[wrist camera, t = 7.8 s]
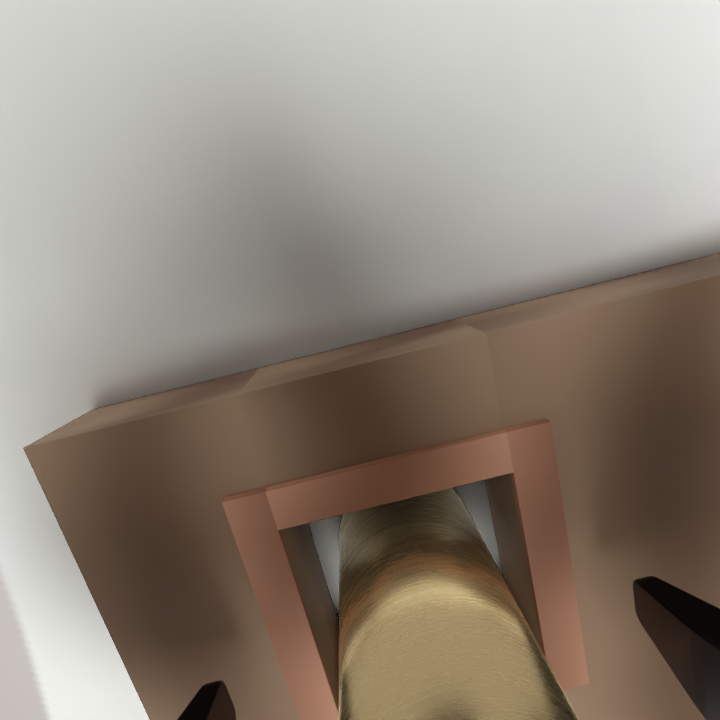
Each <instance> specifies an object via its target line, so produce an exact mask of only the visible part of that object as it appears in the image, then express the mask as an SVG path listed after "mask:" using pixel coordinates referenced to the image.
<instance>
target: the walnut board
mask: <svg viewBox="0 0 720 720" xmlns="http://www.w3.org/2000/svg"><path fill="white" fill-rule="evenodd" d="M23 449H24V451H25V453H26V455H27V457H28V459H29V461H30V464H31V466H32V468H33V470H34V472H35V474H36V476H37V479H38V481H39V483H40V485H41V487H42V489H43V491H44V494H45V496H46V498H47V500H48V502H49V504H50V507H51V509H52V511H53V513H54V515H55V517H56V519H57V522H58V524H59V526H60V528H61V530H62V532H63V534H64V537H65V539H66V541H67V543H68V545H69V547H70V549H71V552H72V554H73V556H74V558H75V560H76V562H77V564H78V567H79V569H80V571H81V573H82V575H83V577H84V579H85V582H86V584H87V586H88V588H89V590H90V592H91V595H92V597H93V599H94V601H95V603H96V605H97V607H98V610H99V612H100V614H101V616H102V618H103V620H104V622H105V625H106V627H107V629H108V631H109V633H110V635H111V637H112V640H113V642H114V644H115V646H116V648H117V650H118V652H119V655H120V657H121V659H122V661H123V663H124V665H125V667H126V670H127V672H128V674H129V676H130V678H131V680H132V683H133V685H134V687H135V689H136V691H137V693H138V695H139V698H140V700H141V702H142V704H143V706H144V708H145V710H146V713H147V715H148V717H149V719H150V720H177V719H178V718H179V716H180V715H181V714H182V712H183V711H184V710H185V708H186V707H187V706H188V704H189V703H190V702H191V700H192V699H193V697H194V696H195V695H196V693H197V692H198V691H199V689H200V688H201V687H202V686H203V685H205V684H207V683H211V682H215V681H219V680H222V681H223V682H224V683H225V685H226V687H227V689H228V692H229V694H230V697H231V699H232V702H233V704H234V707H235V711H236V720H339V623H338V619H337V616H336V613H335V610H334V607H333V603H332V600H331V597H330V594H329V590H328V587H327V584H326V581H325V577H324V574H323V571H322V568H321V564H320V561H319V558H318V555H317V552H316V548H315V545H314V542H313V539H312V535H311V532H310V529H309V526H308V523H310V522H314V521H318V520H322V519H326V518H331V517H335V516H339V515H343V514H347V513H351V512H355V511H359V510H363V509H367V508H371V507H375V506H379V505H383V504H387V503H391V502H396V501H400V500H404V499H408V498H412V497H416V496H420V495H424V494H428V493H432V492H436V491H440V490H444V489H448V488H452V487H457V486H461V485H465V484H469V483H473V482H477V481H481V480H485V482H486V487H487V492H488V498H489V503H490V508H491V513H492V518H493V524H494V529H495V534H496V539H497V544H498V550H499V555H500V560H501V565H502V570H503V576H504V580H505V582H506V584H507V586H508V588H509V590H510V591H511V593H512V595H513V597H514V599H515V601H516V603H517V605H518V606H519V608H520V610H521V612H522V614H523V616H524V618H525V620H526V621H527V623H528V625H529V627H530V629H531V631H532V633H533V635H534V636H535V638H536V640H537V642H538V644H539V646H540V648H541V650H542V652H543V653H544V655H545V657H546V659H547V661H548V663H549V665H550V667H551V668H552V670H553V672H554V674H555V676H556V678H557V680H558V682H559V683H560V685H561V687H562V689H563V691H564V693H565V695H566V697H567V698H568V700H569V702H570V704H571V706H572V708H573V710H574V712H575V714H576V715H577V717H578V719H579V720H706V719H705V718H704V716H703V715H702V714H701V712H700V711H699V710H698V708H697V707H696V706H695V704H694V703H693V701H692V700H691V699H690V697H689V696H688V694H687V693H686V691H685V690H684V688H683V687H682V685H681V684H680V682H679V681H678V679H677V678H676V676H675V675H674V673H673V672H672V670H671V669H670V667H669V666H668V664H667V663H666V661H665V660H664V658H663V656H662V655H661V653H660V652H659V650H658V649H657V647H656V646H655V644H654V643H653V641H652V640H651V638H650V637H649V635H648V634H647V632H646V631H645V629H644V628H643V626H642V625H641V623H640V621H639V619H638V617H637V615H636V611H635V603H634V594H633V581H634V580H635V579H639V578H643V577H647V576H654V577H657V578H659V579H661V580H663V581H665V582H667V583H669V584H671V585H673V586H675V587H677V588H679V589H681V590H683V591H685V592H687V593H689V594H691V595H694V596H696V597H698V598H700V599H702V600H704V601H706V602H708V603H710V604H712V605H714V606H716V607H718V608H720V253H719V254H715V255H711V256H707V257H703V258H699V259H695V260H691V261H687V262H683V263H679V264H675V265H671V266H667V267H663V268H659V269H655V270H651V271H647V272H643V273H639V274H635V275H631V276H627V277H623V278H619V279H615V280H611V281H607V282H603V283H599V284H595V285H591V286H587V287H583V288H579V289H575V290H571V291H567V292H563V293H559V294H555V295H551V296H547V297H543V298H539V299H535V300H531V301H527V302H523V303H519V304H515V305H511V306H507V307H503V308H499V309H494V310H490V311H486V312H482V313H478V314H474V315H470V316H466V317H462V318H458V319H454V320H450V321H446V322H442V323H438V324H434V325H430V326H426V327H422V328H418V329H414V330H410V331H406V332H402V333H398V334H394V335H390V336H386V337H382V338H378V339H374V340H370V341H366V342H362V343H358V344H354V345H350V346H346V347H342V348H338V349H334V350H330V351H326V352H322V353H318V354H314V355H310V356H306V357H302V358H298V359H294V360H290V361H286V362H282V363H278V364H274V365H270V366H266V367H262V368H258V369H254V370H250V371H246V372H242V373H238V374H234V375H230V376H226V377H222V378H218V379H214V380H209V381H205V382H201V383H197V384H193V385H189V386H185V387H181V388H177V389H173V390H169V391H165V392H161V393H157V394H153V395H149V396H145V397H141V398H137V399H133V400H129V401H125V402H121V403H117V404H113V405H109V406H105V407H101V408H97V409H93V410H91V411H89V412H88V413H86V414H84V415H82V416H80V417H79V418H77V419H75V420H73V421H71V422H70V423H68V424H66V425H64V426H62V427H61V428H59V429H57V430H55V431H53V432H52V433H50V434H48V435H46V436H44V437H43V438H41V439H39V440H37V441H35V442H34V443H32V444H30V445H28V446H26V447H25V448H23Z"/></svg>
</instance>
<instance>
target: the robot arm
mask: <svg viewBox="0 0 720 720" xmlns="http://www.w3.org/2000/svg"><path fill="white" fill-rule="evenodd" d="M633 594H634V603H635V611H636V615H637V617H638V619H639V621H640V623H641V625H642V626H643V628H644V629H645V631H646V632H647V634H648V635H649V637H650V638H651V640H652V641H653V643H654V644H655V646H656V647H657V649H658V650H659V652H660V653H661V655H662V656H663V658H664V660H665V661H666V663H667V664H668V666H669V667H670V669H671V670H672V672H673V673H674V675H675V676H676V678H677V679H678V681H679V682H680V684H681V685H682V687H683V688H684V690H685V691H686V693H687V694H688V696H689V697H690V699H691V700H692V701H693V703H694V704H695V706H696V707H697V708H698V710H699V711H700V712H701V714H702V715H703V716H704V718H705V719H706V720H720V608H718V607H716V606H714V605H712V604H710V603H708V602H706V601H704V600H702V599H700V598H698V597H696V596H694V595H691V594H689V593H687V592H685V591H683V590H681V589H679V588H677V587H675V586H673V585H671V584H669V583H667V582H665V581H663V580H661V579H659V578H657V577H654V576H647V577H643V578H639V579H635V580H634V581H633ZM177 720H236V711H235V707H234V704H233V702H232V699H231V697H230V694H229V692H228V689H227V687H226V685H225V683H224V682H223V681H222V680H219V681H215V682H211V683H207V684H205V685H203V686H202V687H201V688H200V689H199V691H198V692H197V693H196V695H195V696H194V697H193V699H192V700H191V702H190V703H189V704H188V706H187V707H186V708H185V710H184V711H183V712H182V714H181V715H180V716H179V718H178V719H177Z"/></svg>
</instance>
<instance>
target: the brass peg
mask: <svg viewBox="0 0 720 720" xmlns="http://www.w3.org/2000/svg"><path fill="white" fill-rule="evenodd" d="M339 720H579V719H578V717H577V715H576V714H575V712H574V710H573V708H572V706H571V704H570V702H569V700H568V698H567V697H566V695H565V693H564V691H563V689H562V687H561V685H560V683H559V682H558V680H557V678H556V676H555V674H554V672H553V670H552V668H551V667H550V665H549V663H548V661H547V659H546V657H545V655H544V653H543V652H542V650H541V648H540V646H539V644H538V642H537V640H536V638H535V636H534V635H533V633H532V631H531V629H530V627H529V625H528V623H527V621H526V620H525V618H524V616H523V614H522V612H521V610H520V608H519V606H518V605H517V603H516V601H515V599H514V597H513V595H512V593H511V591H510V590H509V588H508V586H507V584H506V582H505V580H504V578H503V576H502V574H501V573H500V571H499V569H498V567H497V565H496V563H495V561H494V559H493V558H492V556H491V554H490V552H489V550H488V548H487V546H486V544H485V543H484V541H483V539H482V537H481V535H480V533H479V531H478V529H477V528H476V526H475V524H474V522H473V520H472V518H471V516H470V514H469V512H468V511H467V509H466V507H465V505H464V503H463V501H462V500H461V498H460V497H459V495H458V494H457V493H456V492H455V490H454V489H453V488H448V489H444V490H440V491H436V492H432V493H428V494H424V495H420V496H416V497H412V498H408V499H404V500H400V501H396V502H391V503H387V504H383V505H379V506H375V507H371V508H367V509H363V510H359V511H355V512H351V513H347V514H343V515H342V519H341V523H340V549H339Z"/></svg>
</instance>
